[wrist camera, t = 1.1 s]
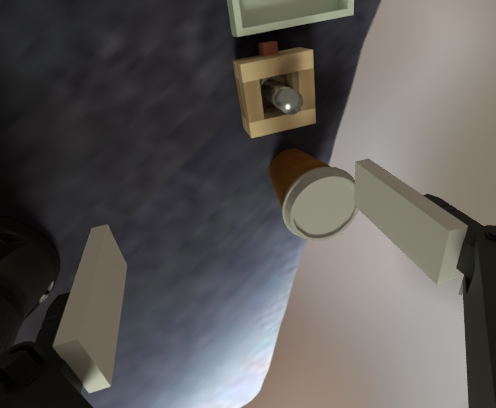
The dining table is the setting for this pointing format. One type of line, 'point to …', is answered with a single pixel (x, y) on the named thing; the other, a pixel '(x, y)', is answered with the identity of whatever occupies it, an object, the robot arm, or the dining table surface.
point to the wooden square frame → (269, 65)
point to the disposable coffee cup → (312, 195)
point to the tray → (282, 13)
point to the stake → (280, 95)
